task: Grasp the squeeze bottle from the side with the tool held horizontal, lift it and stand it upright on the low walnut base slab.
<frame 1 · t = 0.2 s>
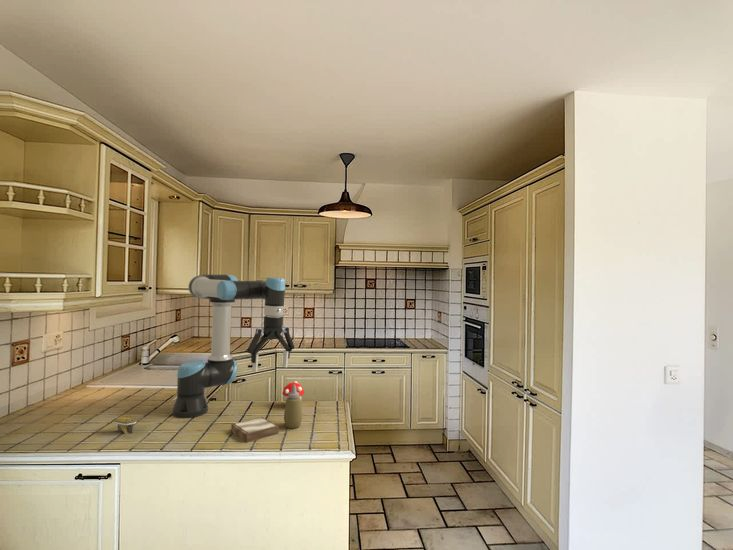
hand: (270, 368, 164), 28 cm above the countertop, tool pointing down, fingers open, 13 cm apart
mushroom: (292, 406, 204), on the countertop
platform: (123, 433, 166), on the countertop
squeeze bottle: (292, 426, 178), on the countertop
base: (254, 432, 170), on the countertop
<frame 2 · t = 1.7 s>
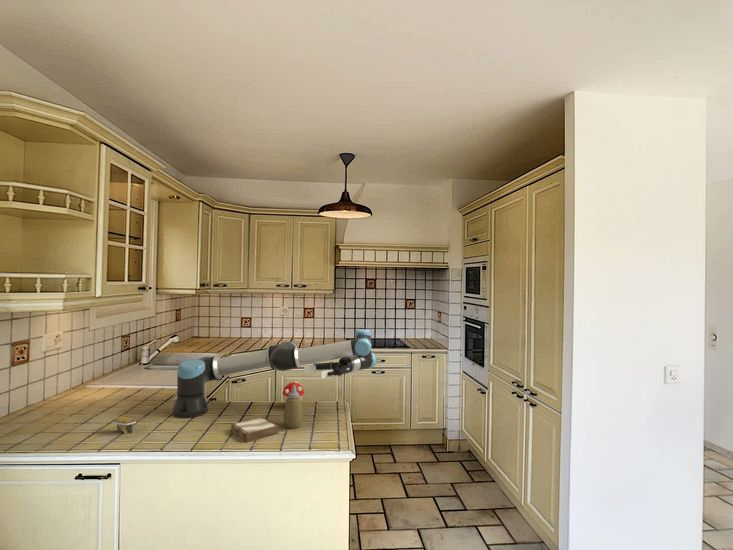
hand: (311, 372, 184), 22 cm above the countertop, tool horizontal, fingers open, 13 cm apart
nothing on the countertop moved.
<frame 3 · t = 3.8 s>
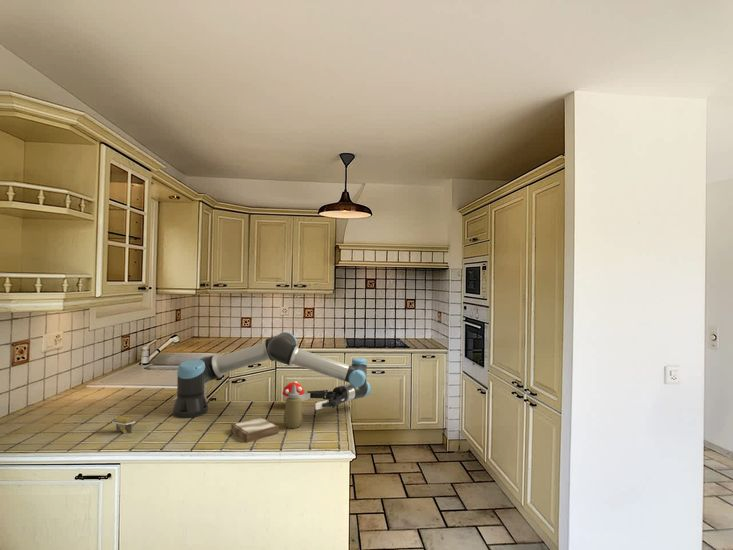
hand: (306, 402, 181), 9 cm above the countertop, tool horizontal, fingers open, 13 cm apart
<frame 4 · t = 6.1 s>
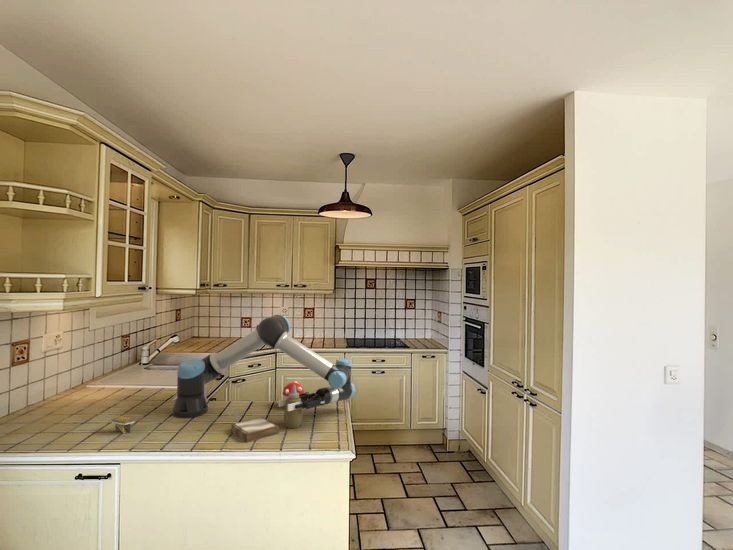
hand: (283, 405, 174), 10 cm above the countertop, tool horizontal, fingers closed on squeeze bottle, 6 cm apart
squeeze bottle: (292, 426, 178), on the countertop, touching gripper
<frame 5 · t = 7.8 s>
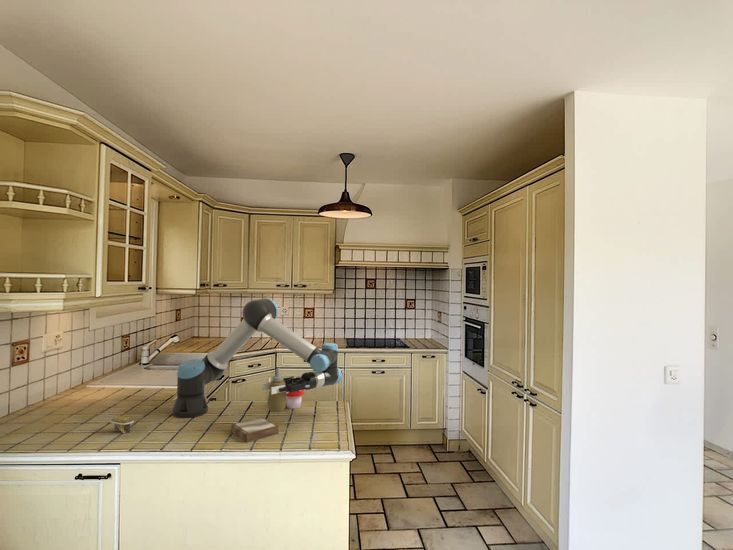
hand: (266, 388, 170), 18 cm above the countertop, tool horizontal, fingers closed on squeeze bottle, 6 cm apart
squeeze bottle: (276, 410, 173), point 8 cm above the countertop, touching gripper
when the fingers open (14 cm above the countertop, at t = 9.7 s): squeeze bottle drops 1 cm, resting on base.
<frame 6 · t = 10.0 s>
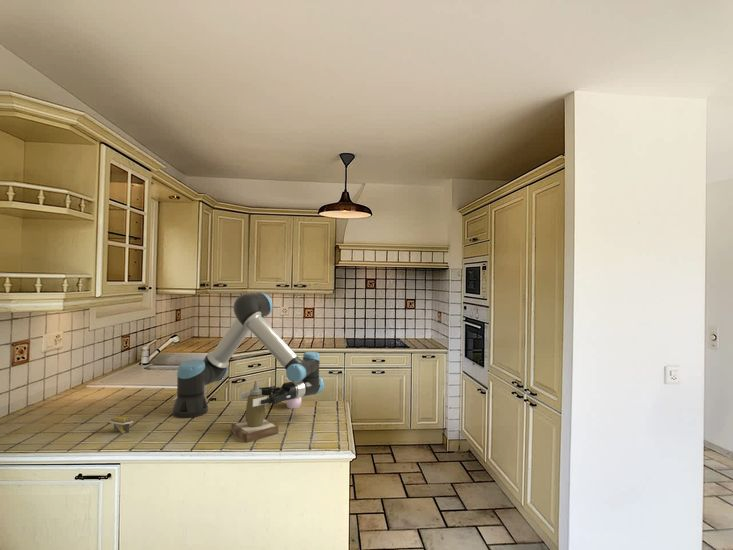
hand: (246, 399, 167), 14 cm above the countertop, tool horizontal, fingers open, 10 cm apart
squeeze bottle: (255, 425, 170), point 3 cm above the countertop, touching base
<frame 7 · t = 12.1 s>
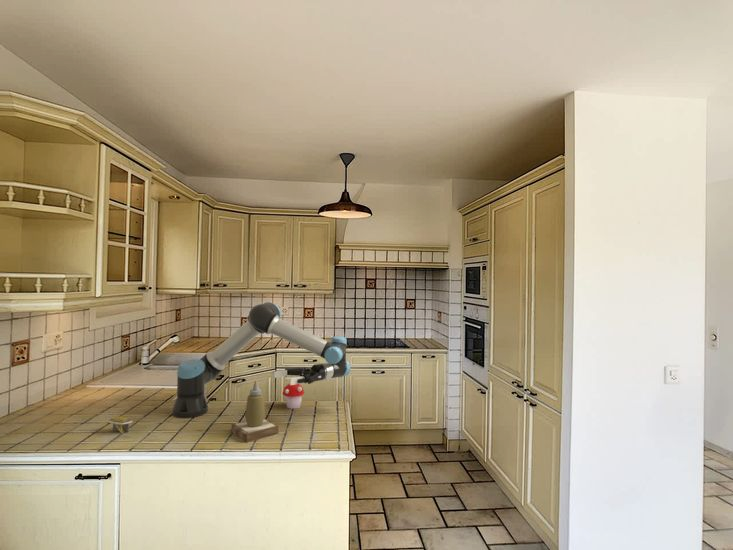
hand: (281, 378, 178), 21 cm above the countertop, tool horizontal, fingers open, 13 cm apart
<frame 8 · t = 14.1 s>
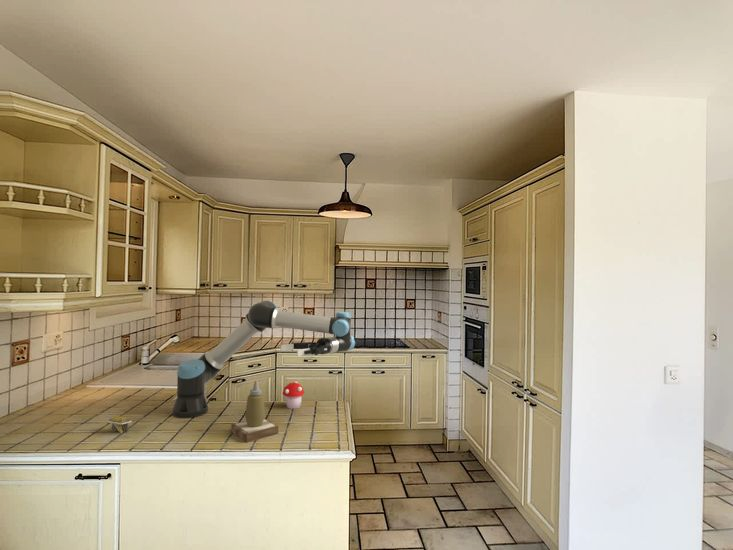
hand: (288, 350, 183), 32 cm above the countertop, tool horizontal, fingers open, 13 cm apart
at the end: squeeze bottle 0.1 cm from the base (horizontally); squeeze bottle point 3.1 cm above the countertop; squeeze bottle tilted 0° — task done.
